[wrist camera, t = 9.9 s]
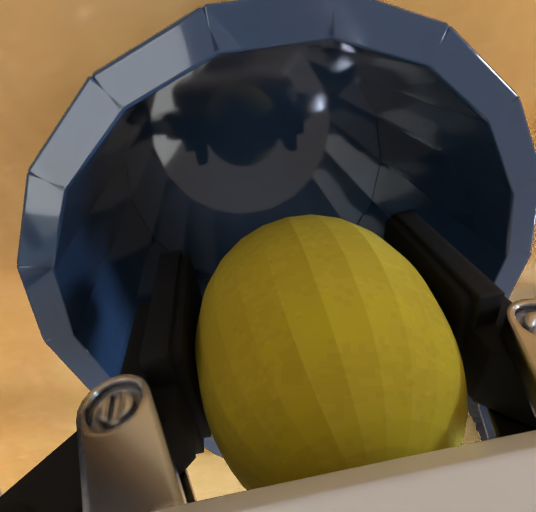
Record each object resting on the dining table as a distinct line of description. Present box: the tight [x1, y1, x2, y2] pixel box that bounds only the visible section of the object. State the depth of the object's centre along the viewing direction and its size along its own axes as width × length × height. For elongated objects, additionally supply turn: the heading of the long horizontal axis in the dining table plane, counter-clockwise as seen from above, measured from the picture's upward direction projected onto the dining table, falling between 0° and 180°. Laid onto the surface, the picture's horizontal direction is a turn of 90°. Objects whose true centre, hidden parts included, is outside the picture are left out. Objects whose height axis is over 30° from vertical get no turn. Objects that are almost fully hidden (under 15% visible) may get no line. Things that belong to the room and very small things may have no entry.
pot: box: [17, 0, 536, 439], centre depth 14 cm, size 14×14×10 cm
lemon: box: [195, 214, 468, 490], centre depth 9 cm, size 6×6×8 cm
